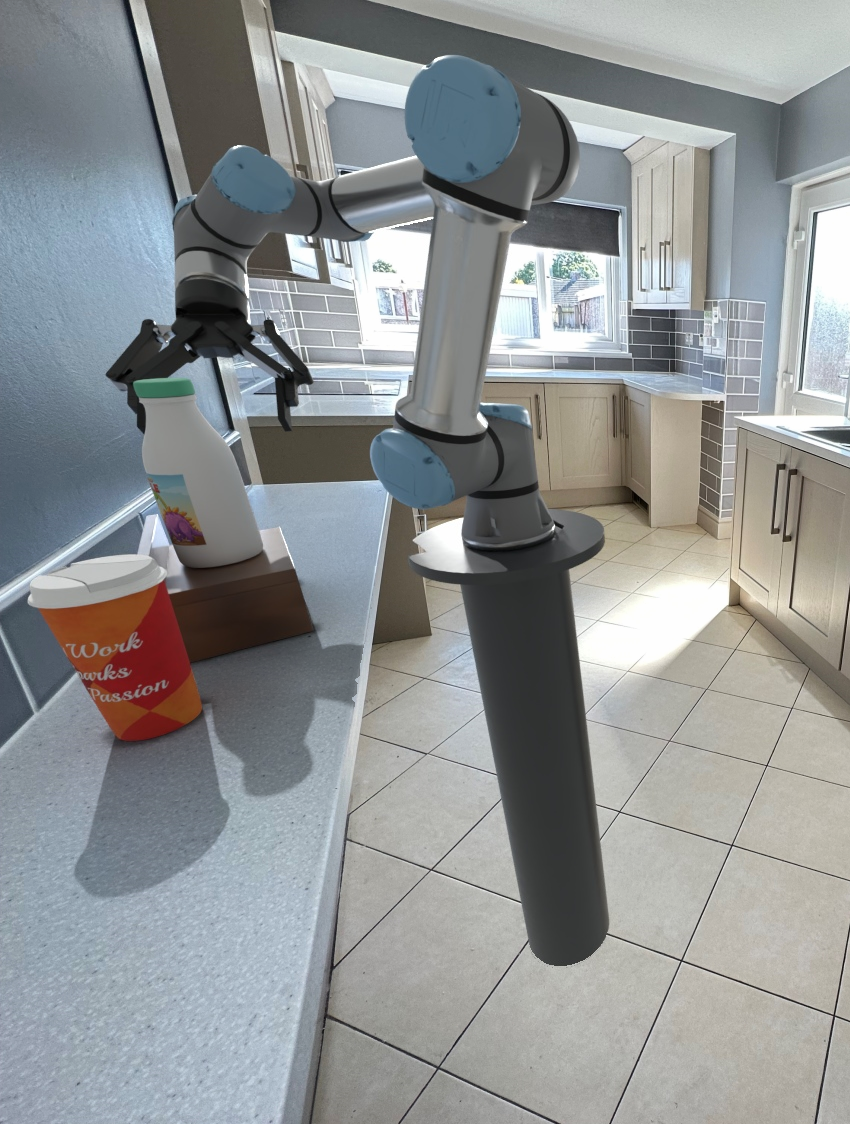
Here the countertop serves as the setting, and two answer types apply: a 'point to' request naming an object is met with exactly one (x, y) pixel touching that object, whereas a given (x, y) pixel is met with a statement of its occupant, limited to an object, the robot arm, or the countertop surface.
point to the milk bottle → (194, 478)
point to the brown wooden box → (231, 596)
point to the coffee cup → (122, 641)
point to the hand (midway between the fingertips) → (218, 429)
